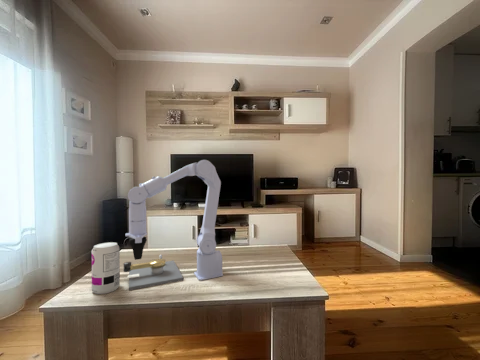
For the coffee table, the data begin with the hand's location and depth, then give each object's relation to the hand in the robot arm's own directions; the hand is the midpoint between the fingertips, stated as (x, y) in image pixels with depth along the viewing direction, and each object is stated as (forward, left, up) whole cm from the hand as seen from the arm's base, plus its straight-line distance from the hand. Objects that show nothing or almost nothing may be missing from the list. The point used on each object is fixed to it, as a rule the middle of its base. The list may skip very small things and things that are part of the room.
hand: (138, 258), depth 83 cm
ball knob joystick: (-3, -5, -5) cm, 8 cm away
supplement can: (+10, 0, -9) cm, 13 cm away
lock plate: (-6, -7, -9) cm, 12 cm away
